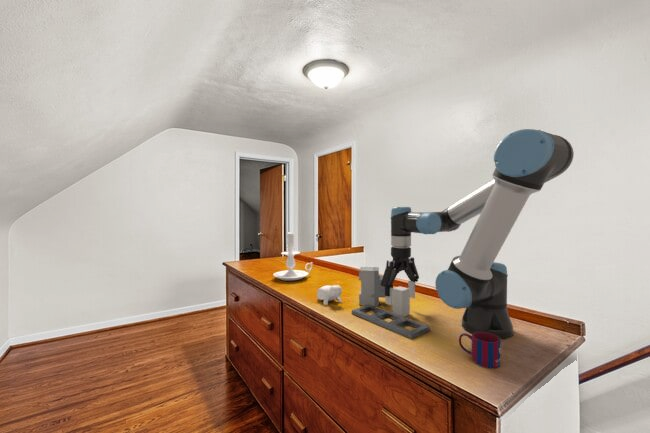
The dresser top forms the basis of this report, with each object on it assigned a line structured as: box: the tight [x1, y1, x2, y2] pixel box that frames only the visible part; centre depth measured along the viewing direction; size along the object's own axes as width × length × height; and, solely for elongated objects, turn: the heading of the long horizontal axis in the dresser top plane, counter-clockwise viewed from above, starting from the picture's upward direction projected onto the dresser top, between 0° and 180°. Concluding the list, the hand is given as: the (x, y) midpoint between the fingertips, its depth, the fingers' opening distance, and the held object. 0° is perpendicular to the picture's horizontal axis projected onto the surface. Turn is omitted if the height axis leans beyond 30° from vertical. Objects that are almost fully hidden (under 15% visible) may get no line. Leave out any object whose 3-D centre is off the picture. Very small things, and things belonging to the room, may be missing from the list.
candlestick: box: [273, 231, 314, 282], centre depth 172 cm, size 21×25×28 cm
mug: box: [458, 332, 502, 369], centre depth 79 cm, size 7×10×7 cm
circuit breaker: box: [358, 266, 394, 307], centre depth 127 cm, size 8×14×15 cm, turn 78°
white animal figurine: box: [316, 284, 343, 306], centre depth 128 cm, size 9×8×15 cm
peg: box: [392, 286, 411, 317], centre depth 114 cm, size 5×5×10 cm
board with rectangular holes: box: [351, 305, 431, 340], centre depth 106 cm, size 28×10×2 cm, turn 37°
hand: (400, 300), depth 114 cm, fingers open, 13 cm apart
